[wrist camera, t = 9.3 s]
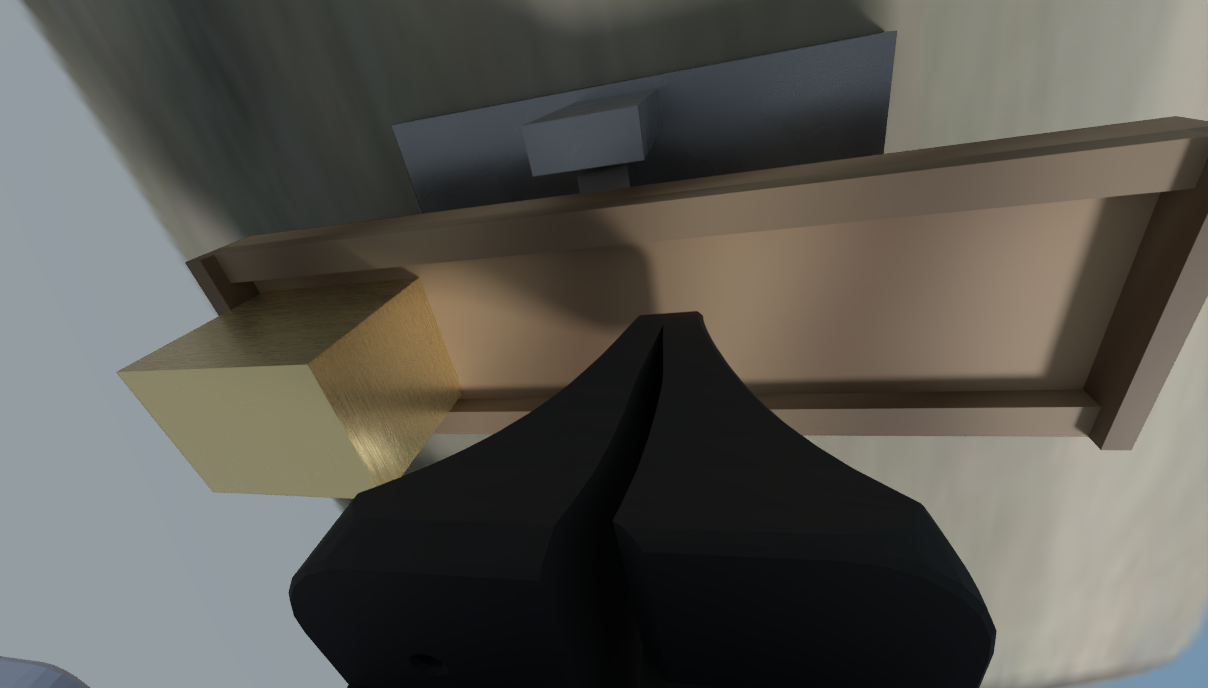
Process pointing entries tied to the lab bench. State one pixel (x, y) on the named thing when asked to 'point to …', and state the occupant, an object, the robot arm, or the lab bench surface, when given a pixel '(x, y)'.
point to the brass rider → (304, 389)
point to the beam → (820, 282)
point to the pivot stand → (660, 126)
